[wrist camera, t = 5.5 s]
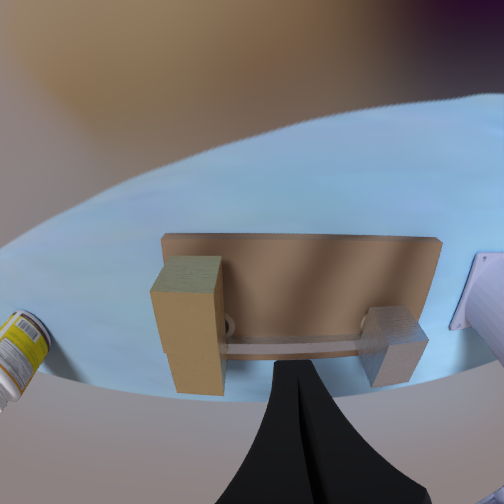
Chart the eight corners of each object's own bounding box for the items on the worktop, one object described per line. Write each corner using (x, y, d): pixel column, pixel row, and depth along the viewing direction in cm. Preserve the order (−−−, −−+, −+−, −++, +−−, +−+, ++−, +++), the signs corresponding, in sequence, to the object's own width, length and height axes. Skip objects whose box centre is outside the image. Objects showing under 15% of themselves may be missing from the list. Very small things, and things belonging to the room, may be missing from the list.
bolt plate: (435, 237, 18) (443, 243, 17) (402, 342, 22) (407, 350, 21) (165, 233, 18) (160, 240, 17) (183, 348, 22) (180, 358, 21)
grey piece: (406, 298, 19) (435, 338, 15) (392, 339, 20) (414, 380, 16) (184, 301, 19) (167, 349, 15) (190, 344, 20) (179, 392, 16)
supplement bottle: (24, 342, 23) (-18, 404, 14) (9, 302, 21) (-46, 365, 12) (59, 355, 23) (18, 427, 14) (44, 313, 21) (-12, 388, 12)
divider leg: (222, 249, 17) (213, 293, 13) (228, 349, 20) (223, 399, 16) (173, 249, 17) (149, 291, 13) (187, 348, 20) (176, 396, 16)
